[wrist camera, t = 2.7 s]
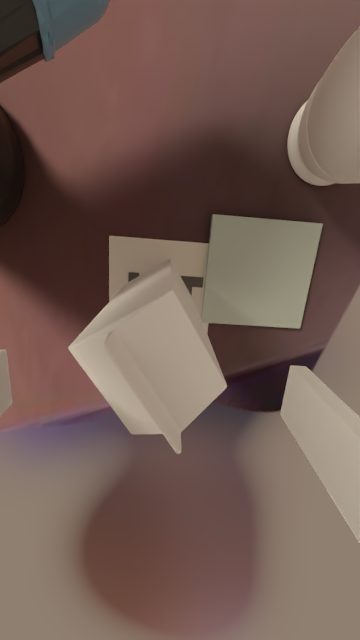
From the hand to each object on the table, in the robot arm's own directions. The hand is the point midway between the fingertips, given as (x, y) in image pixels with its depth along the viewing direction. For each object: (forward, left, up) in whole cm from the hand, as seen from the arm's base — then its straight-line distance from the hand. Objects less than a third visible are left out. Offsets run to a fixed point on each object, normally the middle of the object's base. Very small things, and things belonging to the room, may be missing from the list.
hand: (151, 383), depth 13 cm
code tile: (0, 0, -20) cm, 20 cm away
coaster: (+11, +3, -20) cm, 23 cm away
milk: (0, 0, -20) cm, 20 cm away
